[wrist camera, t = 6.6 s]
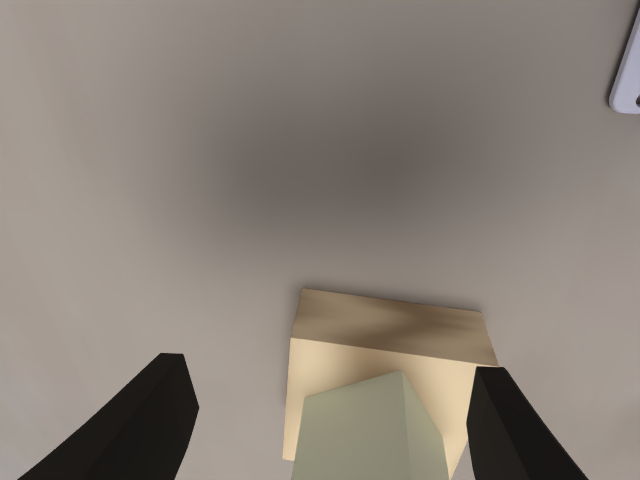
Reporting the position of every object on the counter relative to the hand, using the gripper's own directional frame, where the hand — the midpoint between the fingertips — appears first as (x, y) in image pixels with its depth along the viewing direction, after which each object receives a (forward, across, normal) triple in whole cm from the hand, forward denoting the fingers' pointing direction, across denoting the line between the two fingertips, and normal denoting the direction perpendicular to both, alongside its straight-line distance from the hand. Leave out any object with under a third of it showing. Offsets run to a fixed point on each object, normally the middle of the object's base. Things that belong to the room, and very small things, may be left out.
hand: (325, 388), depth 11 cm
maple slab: (+10, -1, +9) cm, 14 cm away
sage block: (+6, -1, +9) cm, 11 cm away
